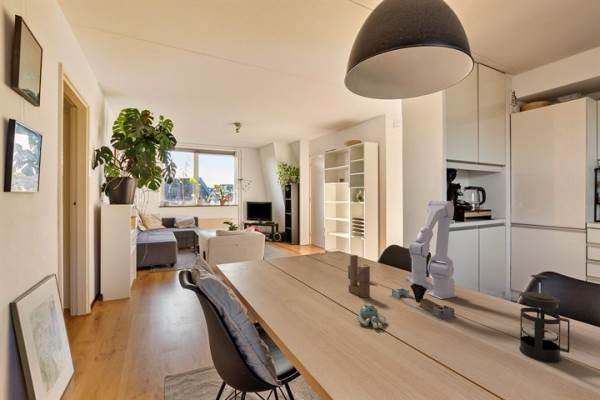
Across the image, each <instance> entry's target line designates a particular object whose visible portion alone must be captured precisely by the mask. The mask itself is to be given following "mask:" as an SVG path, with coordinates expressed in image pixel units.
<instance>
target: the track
mask: <svg viewBox="0 0 600 400" xmlns="http://www.w3.org/2000/svg"><path fill="white" fill-rule="evenodd" d="M388 297H391V298H393V299H395V300H396V301H398V302H401V303H403V304H405V305H407V306H409V307H411V308H413V309H416V310H417V311H420V312H422V313H424V314H425V315H428V316H430V317H432V318H434V319H436V320H438V321H441V319H440V318H438V317H436V316H434V315H433V313H431V312H429V311H427V310H423V309H421V308H420V307H418V306H415V305H414V304H413V305H412V304H410V303H409V302H406V301H404V300H402V299H400V298H399V299H398V298H396V297H394V296H392V294H388ZM408 298H412V299H414V300H415V296H414V295H410V294H409V297H408ZM455 317H457V315H456V314H454V317H453V318H455Z"/></svg>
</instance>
